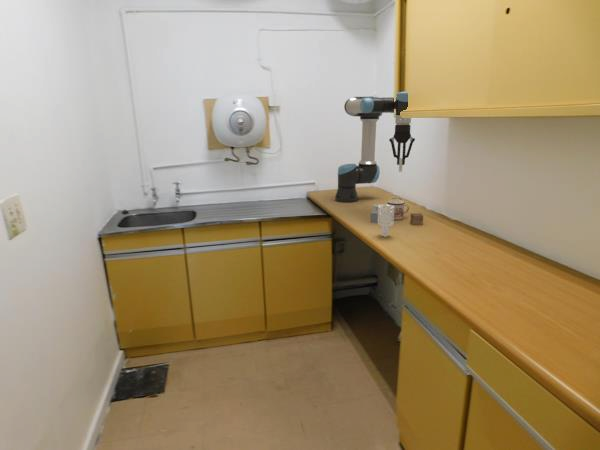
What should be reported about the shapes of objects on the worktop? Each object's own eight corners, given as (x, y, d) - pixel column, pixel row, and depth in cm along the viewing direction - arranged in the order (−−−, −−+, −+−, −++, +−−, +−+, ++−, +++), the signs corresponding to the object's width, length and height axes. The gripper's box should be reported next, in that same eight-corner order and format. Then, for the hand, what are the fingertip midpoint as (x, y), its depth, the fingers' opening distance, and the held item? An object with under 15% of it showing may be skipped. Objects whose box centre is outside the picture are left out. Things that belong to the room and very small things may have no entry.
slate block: (373, 219, 199) (373, 210, 197) (382, 221, 196) (382, 211, 195) (370, 222, 194) (370, 212, 193) (379, 223, 192) (380, 213, 191)
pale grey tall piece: (379, 238, 168) (380, 206, 163) (375, 233, 174) (376, 202, 170) (394, 237, 168) (396, 205, 164) (390, 233, 175) (391, 202, 171)
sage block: (372, 213, 212) (372, 204, 211) (380, 212, 213) (381, 204, 212) (375, 215, 207) (376, 206, 206) (384, 214, 208) (384, 206, 207)
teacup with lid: (389, 220, 196) (390, 198, 193) (384, 216, 205) (385, 195, 202) (411, 219, 197) (412, 198, 194) (405, 215, 206) (406, 194, 203)
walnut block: (410, 222, 192) (410, 213, 191) (420, 222, 192) (420, 213, 191) (412, 225, 188) (413, 215, 186) (422, 225, 187) (423, 215, 186)
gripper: (388, 124, 186) (386, 171, 193) (416, 124, 182) (413, 172, 189) (390, 124, 193) (388, 170, 200) (416, 124, 189) (413, 170, 195)
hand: (400, 171), depth 194 cm, fingers closed
